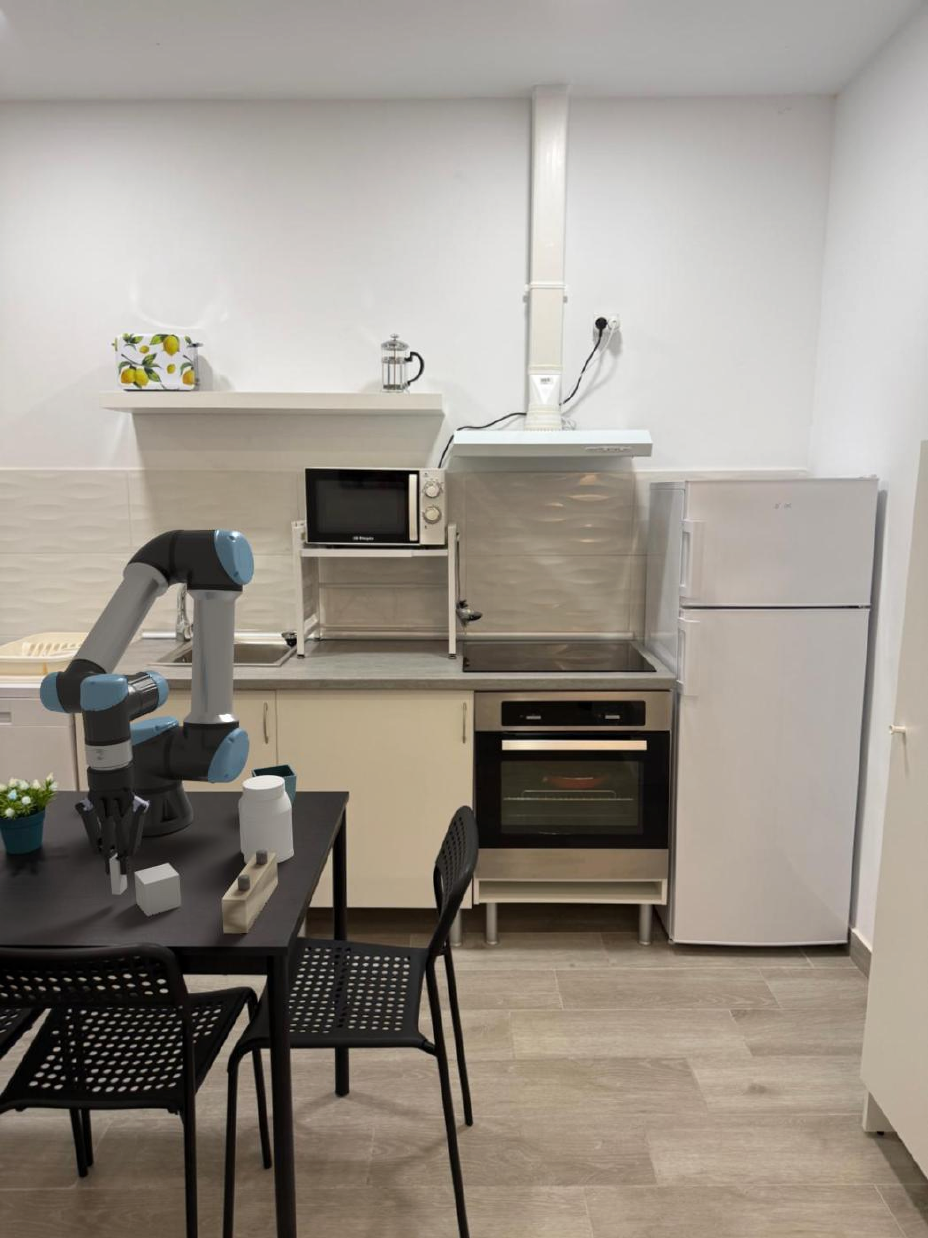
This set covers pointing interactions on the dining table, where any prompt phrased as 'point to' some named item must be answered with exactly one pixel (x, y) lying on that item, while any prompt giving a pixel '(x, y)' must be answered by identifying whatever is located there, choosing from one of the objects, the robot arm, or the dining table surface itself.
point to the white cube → (157, 889)
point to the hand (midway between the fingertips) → (119, 890)
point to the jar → (265, 818)
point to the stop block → (249, 892)
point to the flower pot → (283, 772)
